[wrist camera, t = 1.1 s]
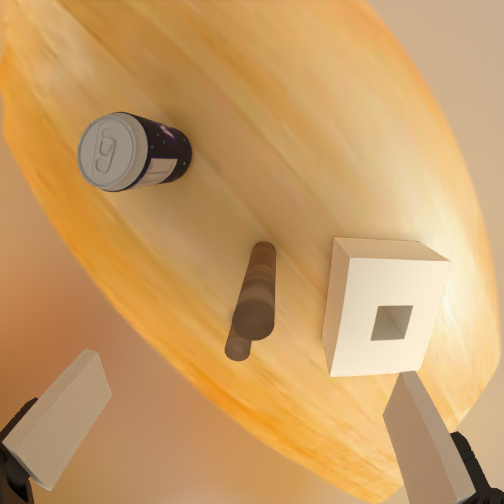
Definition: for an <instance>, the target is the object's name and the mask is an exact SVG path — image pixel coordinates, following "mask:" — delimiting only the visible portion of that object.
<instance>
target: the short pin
mask: <svg viewBox="0 0 504 504" xmlns="http://www.w3.org/2000/svg"><path fill="white" fill-rule="evenodd" d="M251 342H252V340H247V339H245V338H242V337H241V336H240V335H238V334H237V333H236V331H235V330H234V328H233V324H232V325H231V329H230V332H229V336H228V339H227V343H226V346H225V354H226V355H227V357H228V358H230V359H231V360H234V361H243V360H245V359H247V358H248V356H249V354H250V348H251Z"/></svg>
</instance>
